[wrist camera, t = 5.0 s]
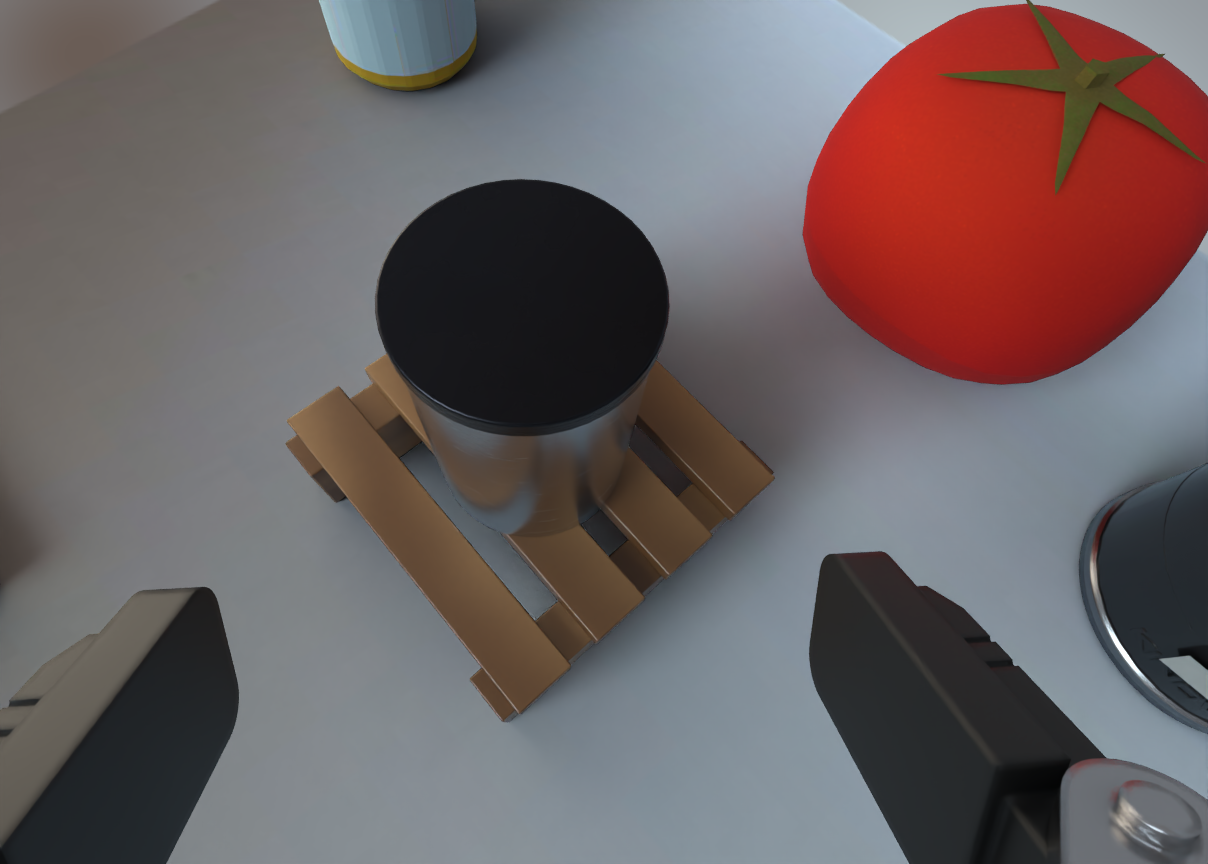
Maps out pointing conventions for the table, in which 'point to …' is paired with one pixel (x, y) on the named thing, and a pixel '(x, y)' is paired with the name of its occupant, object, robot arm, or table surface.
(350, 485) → the wooden pallet
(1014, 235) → the tomato
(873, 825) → the table surface
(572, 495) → the metal canister
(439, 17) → the bottle
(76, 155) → the table surface
